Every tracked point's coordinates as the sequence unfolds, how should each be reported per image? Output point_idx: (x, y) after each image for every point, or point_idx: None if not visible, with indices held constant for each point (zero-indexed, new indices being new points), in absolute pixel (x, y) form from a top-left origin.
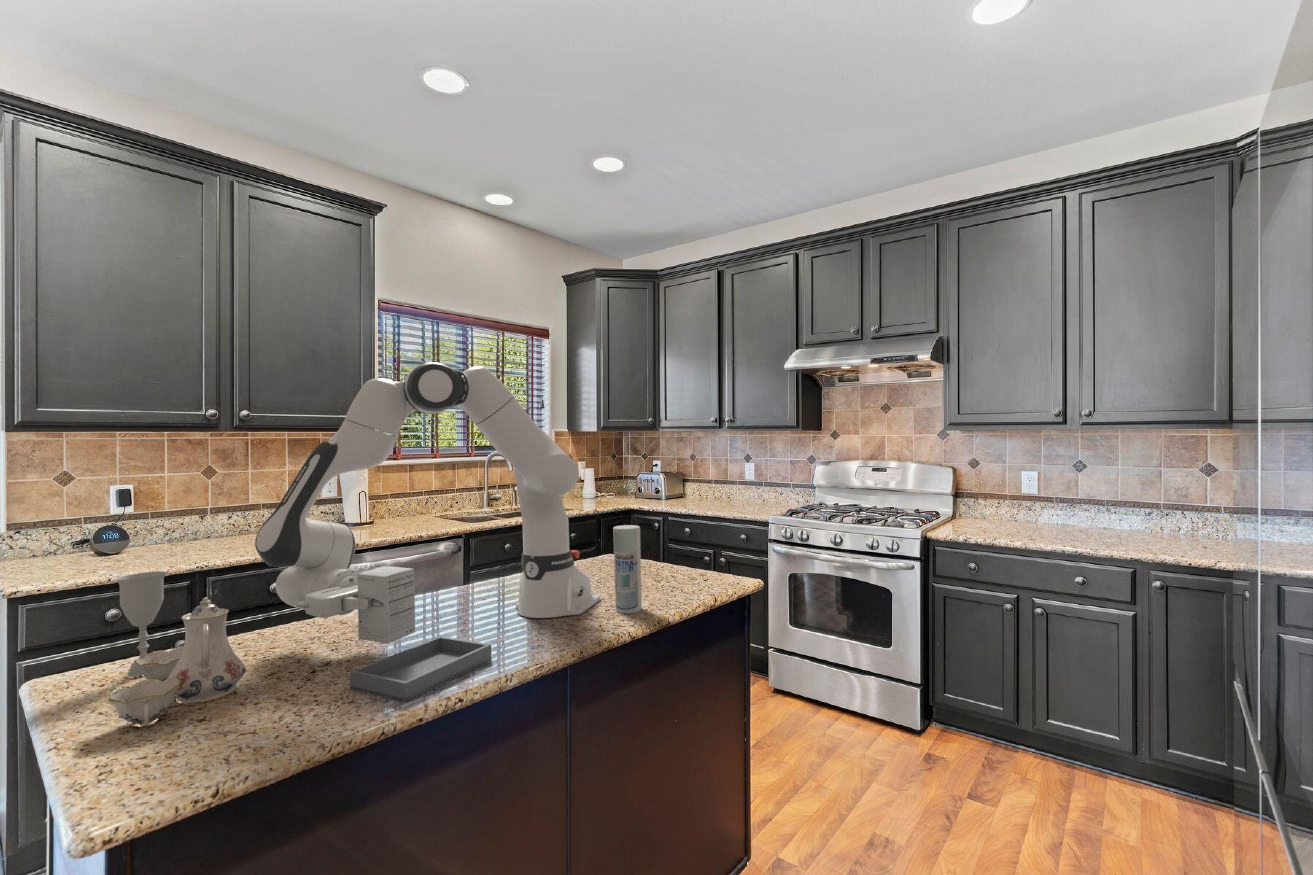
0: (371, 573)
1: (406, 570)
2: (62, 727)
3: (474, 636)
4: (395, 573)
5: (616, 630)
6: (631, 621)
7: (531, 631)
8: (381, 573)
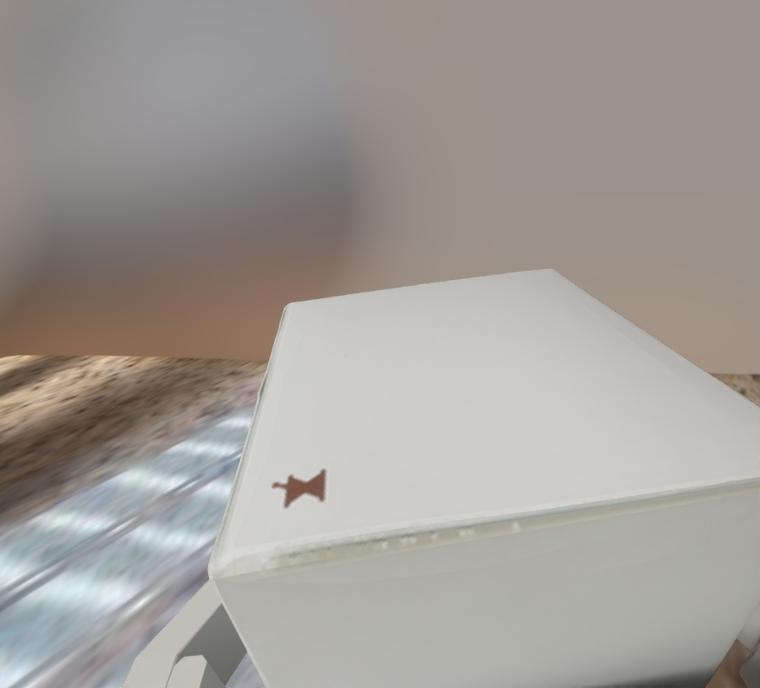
0: (625, 347)
1: (358, 294)
2: None
3: (103, 616)
4: (461, 279)
5: (113, 368)
6: (52, 376)
7: (81, 485)
8: (543, 305)
